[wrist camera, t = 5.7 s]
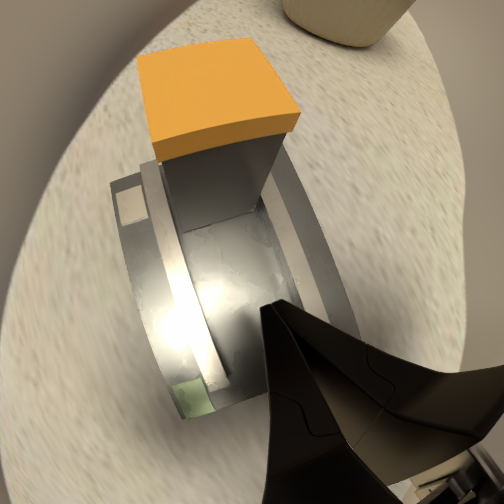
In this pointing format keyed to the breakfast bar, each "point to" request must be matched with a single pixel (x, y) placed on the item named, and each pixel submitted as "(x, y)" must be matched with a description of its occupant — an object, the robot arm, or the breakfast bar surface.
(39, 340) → the breakfast bar surface
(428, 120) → the breakfast bar surface
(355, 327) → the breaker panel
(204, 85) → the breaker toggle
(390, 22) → the canister
